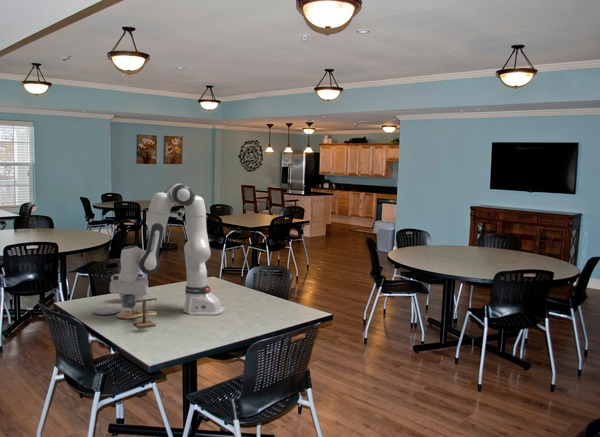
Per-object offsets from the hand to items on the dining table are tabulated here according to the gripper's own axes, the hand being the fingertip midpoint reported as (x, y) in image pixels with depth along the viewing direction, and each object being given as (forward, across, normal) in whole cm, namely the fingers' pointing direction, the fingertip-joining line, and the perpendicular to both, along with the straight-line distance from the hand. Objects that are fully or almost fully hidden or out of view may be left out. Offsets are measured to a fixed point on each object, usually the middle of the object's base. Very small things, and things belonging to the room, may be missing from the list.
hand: (129, 302), depth 273 cm
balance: (+7, -14, +13) cm, 21 cm away
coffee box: (+8, +12, -29) cm, 32 cm away
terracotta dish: (+7, 0, 0) cm, 7 cm away
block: (+2, 0, 0) cm, 2 cm away
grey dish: (+8, +15, -4) cm, 17 cm away
